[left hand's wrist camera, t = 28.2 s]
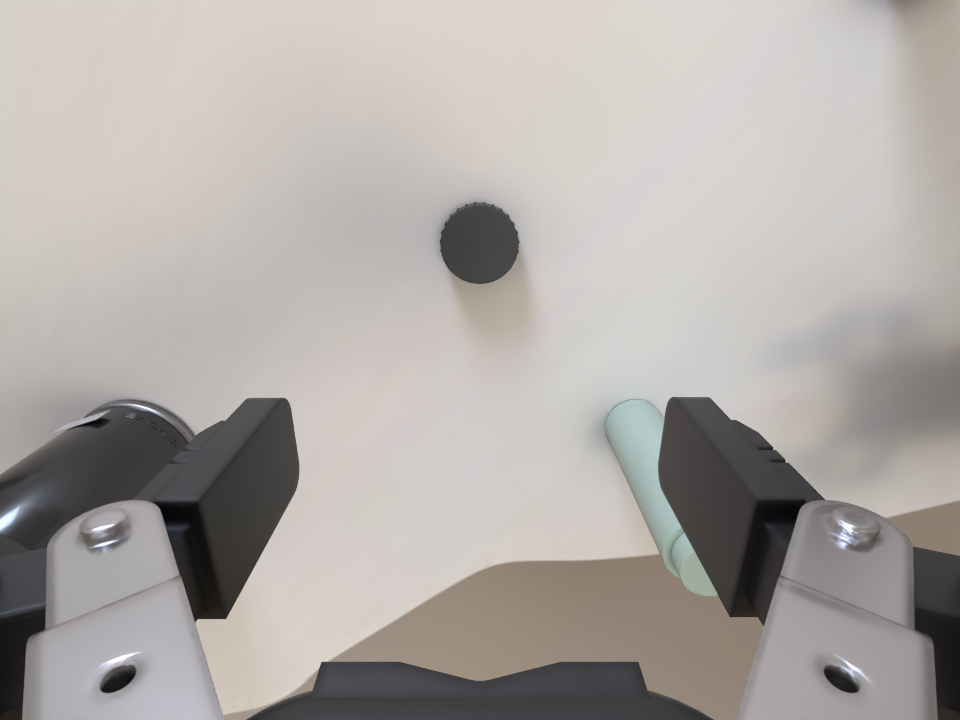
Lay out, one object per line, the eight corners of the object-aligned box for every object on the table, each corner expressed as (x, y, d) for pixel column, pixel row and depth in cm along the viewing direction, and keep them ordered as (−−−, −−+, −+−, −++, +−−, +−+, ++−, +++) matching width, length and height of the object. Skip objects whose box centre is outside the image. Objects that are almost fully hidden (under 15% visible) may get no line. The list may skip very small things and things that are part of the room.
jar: (672, 429, 41) (774, 576, 27) (624, 458, 42) (697, 615, 28) (643, 388, 39) (734, 520, 25) (594, 420, 40) (655, 563, 26)
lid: (429, 217, 35) (427, 220, 33) (503, 190, 34) (504, 191, 33) (457, 289, 37) (456, 295, 35) (527, 264, 36) (529, 269, 34)
